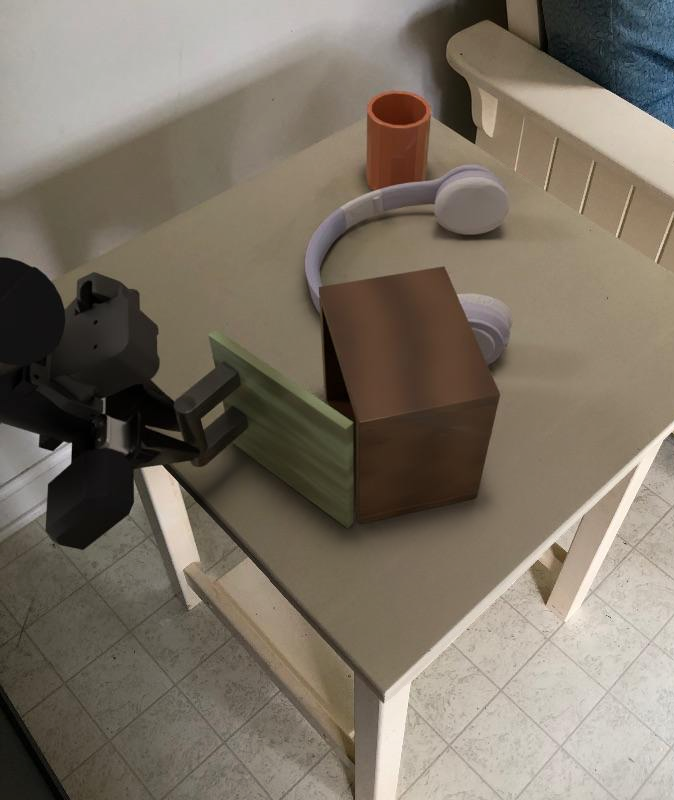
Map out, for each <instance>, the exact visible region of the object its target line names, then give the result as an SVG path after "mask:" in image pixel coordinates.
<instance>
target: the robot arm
mask: <svg viewBox="0 0 674 800" xmlns="http://www.w3.org/2000/svg"><path fill="white" fill-rule="evenodd" d="M75 295H76V297H75V298H74V299H73V300H72V301H71V302H70V303H69V304H68V305H67V306H66V307H65V306H64V301H63V300H62V296H61V295H60V293H59V291H58V289H57V287H56V285H55V284H54V283H53V281H52V280H51V279H50V278H49V277H48V275H46V274H45V273H44V272H43V271H42V270H40V269H39V268H38V267H36V266H32V265H29V264H27V263H25V262H24V261H21V260H18V259H15V258H10V257H7V256H6V257H5V256H3V257H2V256H0V425H1V424H3V425H7V426H10V427H13V428H17V429H20V430H23V431H26V432H29V433H32V434H36V435H39V436H38V448H40V449H44V450H46V451H50V452H54V451H55V450H56V449H58V448H59V447H60V446H61V445H62V444H63V443H67V444H71V455H70V464H69V465H68V466H67V467H65V468H64V469H63V470H62V471H60V473H58V474H57V475H56V476H55V477H53V479H52V480H50V481H49V482H48V483H47V492H46V493H47V495H46V511H45V512H46V513H45V528H44V529H45V533H47V536H48V537H49V539H50V540H51V541H52V542H54V543H55V544H57V545H59V546H62V547H66V548H72V549H77V550H82V551H84V550H85V549H87V548H88V547H89V546H90V545H93V543H94V542H96V541H97V540H98V539H100V538H101V537H102V536H104V535H105V534H106V533H107V532H109V531H110V530H112V528H114V527H115V526H116V525H117V524H119V523H120V522H121V521H123V520H124V519H125V518H127V517H128V516H129V515H130V513H131V511H132V508H133V506H134V503H135V470H137V469H144V468H151V467H158V466H165V465H171V464H178V463H184V462H185V463H186V462H190V461H192V460H194V459H195V458H197V457H198V456H199V455H200V449H198V448H196V447H194V446H192V445H191V444H189V443H187V442H184V441H183V440H181V439H178V438H176V437H173V436H170V435H168V434H165V433H163V432H159V431H157V430H154V429H151V428H155V429H159V430H165V431H170V432H176V433H178V432H179V433H181V431H180V427H179V424H178V421H177V417H176V414H175V411H174V407H173V405H174V402H175V400H174V399H173V398H172V397H170V396H169V395H168V394H167V393H166V392H164V390H162V389H161V388H160V387H159V386H158V385H157V384H156V383H155V382H154V381H153V380H152V379H153V378H154V377H155V376H156V375H157V373H158V371H159V369H160V366H161V361H160V357H159V353H158V336H159V332H160V331H159V327H158V324H157V323H155V322H154V321H153V319H151V318H150V317H149V316H148V315H147V314H145V313H144V312H143V310H141V306H140V305H141V299H140V296H141V295H140V292H139V290H137V289H135V288H128V287H127V286H126V284H124V283H123V282H122V281H120V280H119V279H118V280H117V279H115V278H112V277H109V276H106V275H104V274H101V273H98V272H95V271H92V272H91V273H89V274H86V275H85V276H82V277H80V278H78V279H77V280H76V294H75ZM149 427H151V428H149Z"/></svg>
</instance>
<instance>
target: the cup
mask: <svg viewBox="0 0 674 800" xmlns="http://www.w3.org/2000/svg"><path fill="white" fill-rule="evenodd" d="M431 119H432V106H431V105H430V104H429V102H428V101H427V99H425V98H424V97H423V96H420V95H419V94H416V93H414V92H410V91H406V90H389V91H385V92H381V93H378V94H376V95H375V96H373V97H372V98H370V100H369V102H368V103H367V104H366V169H365V170H366V171H365V172H366V174H365V175H366V176H365V177H366V178H365V179H366V184H367V185H368V188H369V189H370V190H371V192H372V191H375V190H379V189H382V188H386V187H389V186H394V185H399V184H404V183H411V182H421V181H427V169H428V157H429V144H430V132H431V121H432V120H431Z"/></svg>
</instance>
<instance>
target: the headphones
mask: <svg viewBox="0 0 674 800" xmlns="http://www.w3.org/2000/svg"><path fill="white" fill-rule="evenodd" d="M424 205H433V214H434V217H435V220H436V222H437V223H438V224H439V225H440V226H441V227H442V228H444V229H446V230H448V231H450V232H452V233H455V234H460V235H465V236H466V235H469V236H471V235H480V234H486V233H488V232H491V231H493V230H495V229H497V228H498V227H500V225H501V224H502V223H503V222H504V221H505V220H506V217H507V215H508V214H509V211H510V199H509V196H508V192H507V190H506V188H505V185H504V184H503V182H502V181H501V180H500V179H499V178H498V177H497V176H496V175H495V173H494V172H492V170H490V169H488V168H487V167H484V166H481V165H479V164H463V165H459V166H457V167H454V168H452V169H450V170H449V171H448V172H446V173H444V174H443V175H442V176H441V177H438V178H435V179H432V180H431V179H430V180H425V181H421V182H411V183H404V184H399V185H394V186H389V187H386V188H382V189H379V190H375V191H372V190H371V191H370V192H367V193H365V194H362V195H360V196H357V197H356V198H354V199H352V200H350V201H348V202H346V203H345V204H343V205H342V206H340V207H338V208H337V209H336V210H334V211H333V212H332V213H331V214H329V215H328V217H326V218H325V219H324V220H323V221H322V222H321V223H320V225H318V227H317V229H316V230H315V231H314V233H313V235H312V236H311V238H310V239H309V240H310V241H309V242H308V245H307V249H306V251H305V258H304V259H305V260H304V268H305V269H304V270H305V275H306V280H307V286H308V288H309V289H308V290H309V293H310V296H311V300H312V303H313V304H314V307H315V308H316V311H317V312H318V313H319V314H320V302H319V287H322V286H323V283H322V282H323V281H322V278H321V267H322V264H323V261H324V260H325V257H326V254H327V253H328V251H329V249H330V247H331V246H332V245H333V243H334V242H335V241H336V240H337V239H338V238H339V237H341V235H343V234H344V233H346V231H347V230H348V229H350V228H351V227H353V226H355V225H356V224H358V223H360V222H362V221H364V220H367V219H369V218H370V217H373V216H376V215H380V214H382V213H386V212H388V211H393V210H396V209H402V208H407V207H414V206H424ZM456 294H457V296H458V299H459V301H460V303H461V305H462V308H463V310H464V312H465V315H466V317H467V319H468V321H469V324H470V326H471V328H472V331H473V333H474V335H475V337H476V340H477V342H478V344H479V347H480V349H481V351H482V354H483V356H484V358H485V360H486V363H487V365H488V366H489V365H491V364H492V363H493V362H495V361H496V360H497V359H498V358H499V357H500V356H501V355H502V353H503V351H504V348H507V346H508V345H509V342H510V337H511V328H512V326H513V315H512V312H511V310H510V309H509V307H508V306H507V304H505V303H504V302H503V301H501V300H499V299H497V298H495V297H491V296H489V295H484V294H480V293H456Z"/></svg>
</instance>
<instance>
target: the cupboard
mask: <svg viewBox="0 0 674 800" xmlns="http://www.w3.org/2000/svg"><path fill="white" fill-rule="evenodd" d="M457 294H458V293H457V291H456V289H455V287H454V284H453V283H452V280H451V278H450V276H449V274H448V271H447V269H446V267H445V266H438V267H431V268H425V269H420V270H419V269H418V270H414V271H413V270H412V271H408V272H402V273H395V274H389V275H384V276H377V277H371V278H365V279H359V280H353V281H347V282H341V283H335V284H329V285H322V287H319V302H320V313H319V318H320V319H319V320H320V337H321V338H320V340H321V356H322V357H321V358H322V377H323V392H324V393H323V394H324V395H323V396H324V401H325V402H324V403H326V404H327V405H329V406H330V407H332V408H333V409H334V410H336V411H337V412H339V413H340V414H342V415H343V416H345V417H346V418H348V419H349V420H351V421H352V422H353V448H354V512H355V515H356V518H357V522H358V524H360V525H361V524H365V523H370V522H374V521H379V520H383V519H389V518H392V517H397V516H402V515H406V514H410V513H415V512H419V511H424V510H428V509H433V508H438V507H443V506H447V505H450V504H455V503H459V502H460V503H461V502H464V501H468V500H473V499H477V498H478V495H479V492H480V491H479V490H480V487H481V486H480V485H481V481H482V478H483V473H484V469H485V464H486V460H487V455H488V452H489V451H488V450H489V447H490V442H491V438H492V433H493V429H494V423H495V419H496V415H497V412H498V406H499V403H500V398H501V393H500V391H499V388H498V385H497V383H496V381H495V378H494V376H493V374H492V372H491V370H490V367H489V364H488V365H487V363H486V360H485V358H484V356H483V354H482V351H481V349H480V347H479V344H478V342H477V340H476V337H475V335H474V333H473V331H472V328H471V326H470V324H469V321H468V319H467V317H466V315H465V312H464V310H463V308H462V305H461V303H460V301H459V299H458V296H457Z"/></svg>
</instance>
